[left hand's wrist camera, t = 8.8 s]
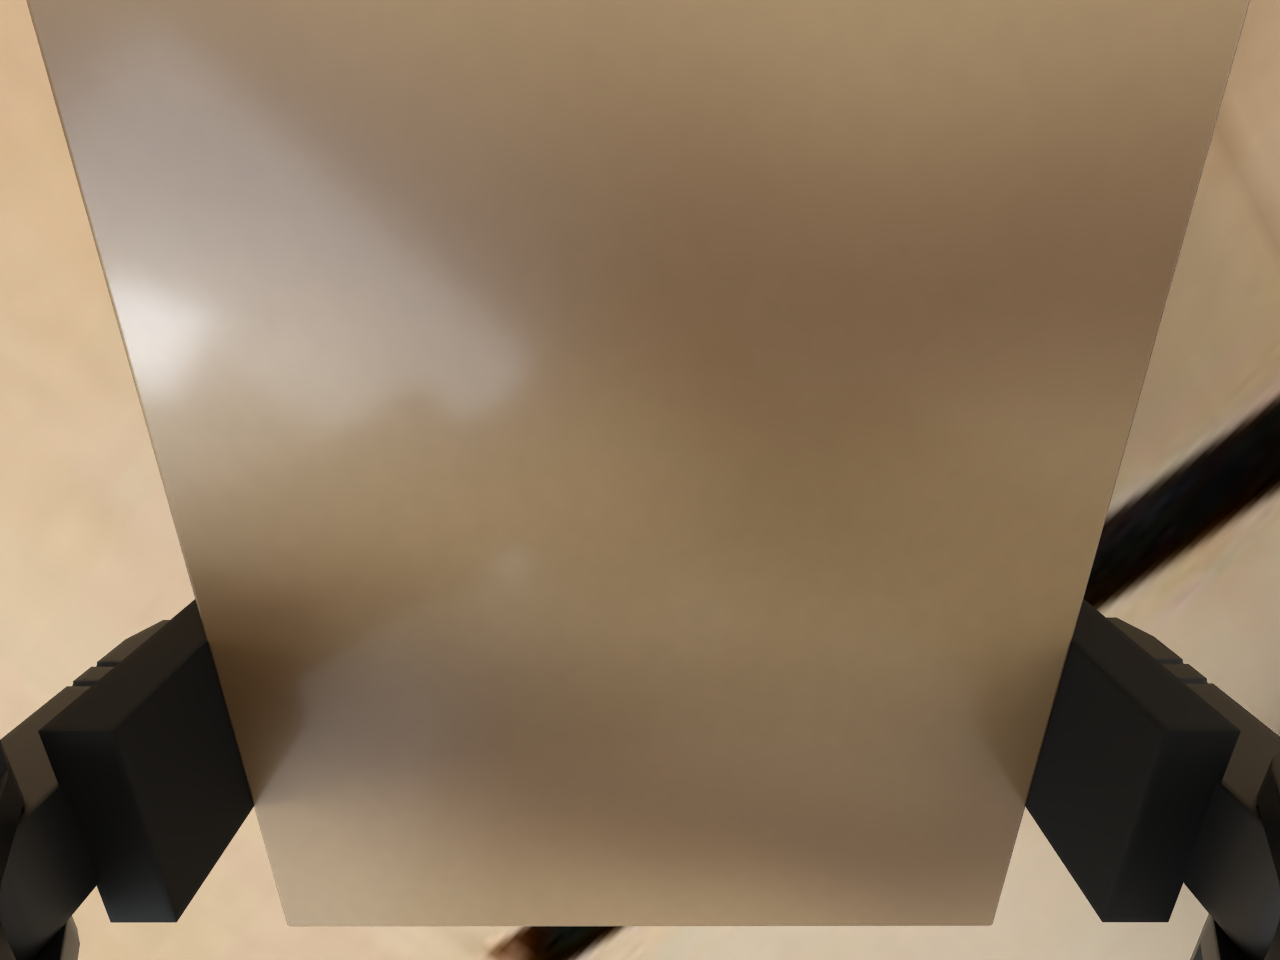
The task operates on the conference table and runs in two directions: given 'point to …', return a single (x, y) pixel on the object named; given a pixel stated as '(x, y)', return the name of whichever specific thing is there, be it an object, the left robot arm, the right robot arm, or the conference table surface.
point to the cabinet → (638, 421)
